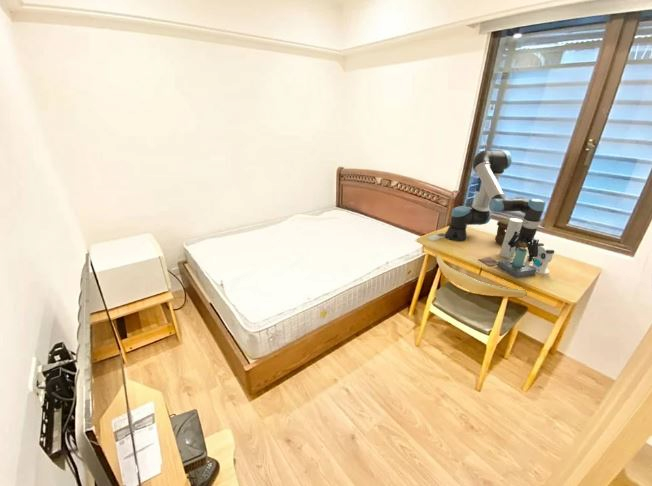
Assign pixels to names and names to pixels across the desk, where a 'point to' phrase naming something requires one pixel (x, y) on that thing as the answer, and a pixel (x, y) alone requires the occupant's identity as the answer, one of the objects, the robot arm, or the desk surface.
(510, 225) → the cylindrical container
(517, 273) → the housing
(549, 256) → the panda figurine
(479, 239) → the desk surface
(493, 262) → the pad
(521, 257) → the teal cylinder
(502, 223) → the brown lumpy upright piece
